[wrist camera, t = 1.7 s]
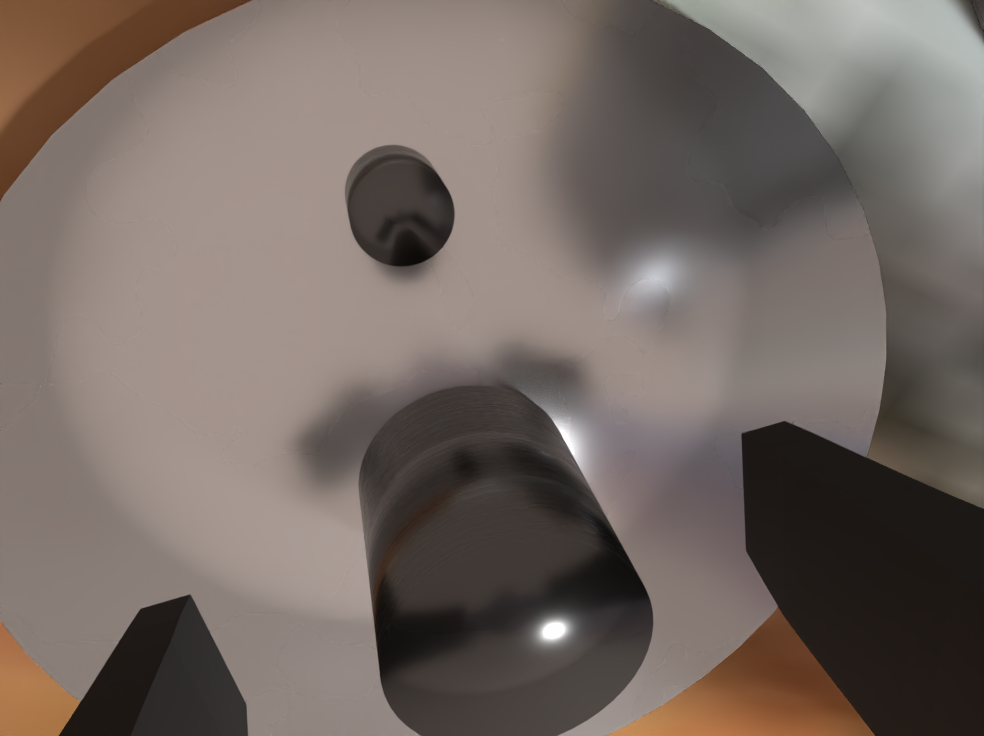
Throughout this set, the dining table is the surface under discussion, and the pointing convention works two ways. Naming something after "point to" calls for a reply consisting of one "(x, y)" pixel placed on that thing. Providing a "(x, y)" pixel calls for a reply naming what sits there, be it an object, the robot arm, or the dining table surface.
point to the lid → (422, 358)
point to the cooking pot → (979, 11)
